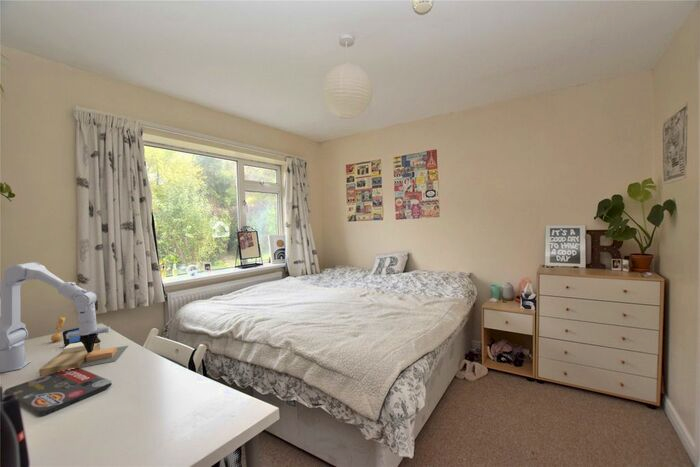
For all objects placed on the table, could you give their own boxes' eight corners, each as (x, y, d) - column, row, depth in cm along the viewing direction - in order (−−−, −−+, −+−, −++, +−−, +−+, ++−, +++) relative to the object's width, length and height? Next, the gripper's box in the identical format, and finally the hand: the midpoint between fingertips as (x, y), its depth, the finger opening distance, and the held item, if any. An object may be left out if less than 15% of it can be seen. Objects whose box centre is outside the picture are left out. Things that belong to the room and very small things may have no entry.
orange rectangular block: (86, 361, 129) (85, 356, 129) (92, 355, 134) (91, 351, 134) (112, 356, 132) (111, 352, 132) (116, 351, 138) (116, 347, 138)
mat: (79, 367, 124) (79, 367, 124) (96, 351, 139) (96, 350, 139) (115, 361, 128) (115, 360, 128) (127, 346, 144) (127, 345, 144)
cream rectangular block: (63, 353, 133) (63, 348, 133) (70, 348, 138) (69, 343, 138) (89, 349, 136) (88, 344, 136) (94, 344, 142) (94, 340, 141)
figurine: (49, 341, 156) (47, 318, 155) (65, 337, 161) (62, 314, 160) (53, 344, 151) (51, 320, 150) (69, 340, 156) (67, 316, 155)
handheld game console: (66, 351, 141) (65, 336, 141) (63, 346, 148) (61, 331, 148) (101, 342, 151) (99, 327, 150) (96, 337, 158) (95, 323, 157)
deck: (39, 375, 118) (39, 369, 118) (67, 353, 139) (66, 348, 139) (78, 368, 123) (78, 362, 123) (99, 348, 143) (99, 342, 143)
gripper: (61, 326, 124) (64, 359, 125) (104, 320, 130) (107, 351, 130) (69, 321, 131) (72, 352, 131) (110, 315, 136) (113, 345, 137)
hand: (90, 351), depth 131 cm, fingers closed
